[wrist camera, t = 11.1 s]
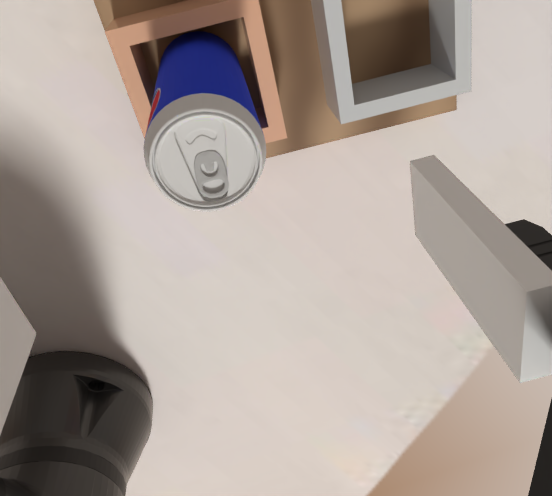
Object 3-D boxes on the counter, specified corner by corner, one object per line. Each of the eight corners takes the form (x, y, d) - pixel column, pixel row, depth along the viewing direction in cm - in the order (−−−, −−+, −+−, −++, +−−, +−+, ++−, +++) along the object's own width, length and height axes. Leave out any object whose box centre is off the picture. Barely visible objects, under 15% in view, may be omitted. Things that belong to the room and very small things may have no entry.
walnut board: (163, 175, 39) (162, 184, 38) (87, -31, 31) (83, -29, 30) (447, 103, 39) (456, 109, 38) (442, -121, 31) (453, -122, 30)
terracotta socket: (159, 147, 36) (156, 171, 33) (113, 18, 32) (104, 31, 28) (278, 117, 36) (287, 138, 33) (250, -16, 32) (257, -7, 28)
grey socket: (327, 104, 36) (341, 124, 33) (305, -30, 32) (319, -23, 28) (445, 74, 36) (471, 91, 33) (441, -65, 32) (471, -62, 28)
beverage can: (150, 37, 32) (125, 114, 20) (231, 22, 33) (258, 88, 20) (171, 117, 35) (161, 228, 23) (246, 103, 35) (277, 205, 23)
